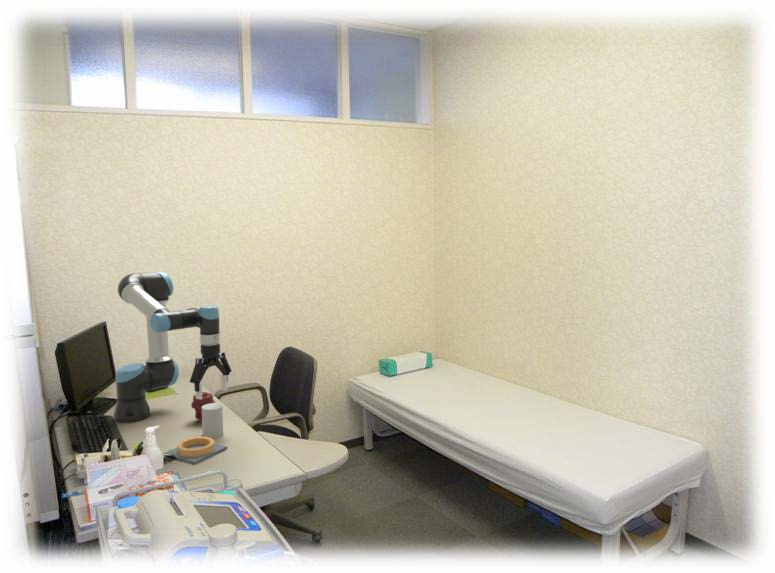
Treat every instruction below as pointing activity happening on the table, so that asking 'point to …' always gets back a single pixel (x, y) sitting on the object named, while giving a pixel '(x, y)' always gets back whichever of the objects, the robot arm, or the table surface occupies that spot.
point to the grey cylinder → (212, 420)
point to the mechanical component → (201, 404)
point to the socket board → (200, 458)
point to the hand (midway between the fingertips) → (212, 394)
